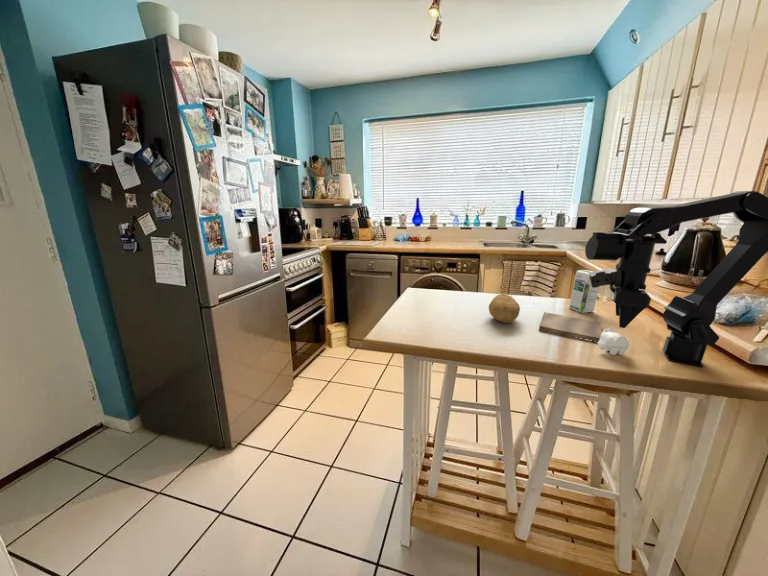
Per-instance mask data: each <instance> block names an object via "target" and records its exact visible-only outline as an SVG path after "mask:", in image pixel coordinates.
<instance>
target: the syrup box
mask: <svg viewBox="0 0 768 576" xmlns="http://www.w3.org/2000/svg"><path fill="white" fill-rule="evenodd" d="M591 272H593V270H589V269H588V270H587V269H579V270H576V272H575V277H574V280H573V287H572V291H571V296H570V302H569V306H568V309H569V308H571V309H570V310H572V309H573V310H572V311H574V310H576V311H575V312H577V311H579V312H581V313H583V314H585V313H584V312H590V311H594V312H595V307H596V302H597V299H598V294H599V290H600V286H599V287H595V288H593V287H592V286H591V281H590V277H589V273H591ZM579 312H578V313H579ZM581 313H580V314H581Z"/></svg>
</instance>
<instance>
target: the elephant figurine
mask: <svg viewBox="0 0 768 576" xmlns="http://www.w3.org/2000/svg"><path fill="white" fill-rule="evenodd" d="M630 341H631V339H629V340H628V338H627V337H626V336H623V335H621V334H619V333H617V332H615V331H614V332H613V331H612V328H605V329H604V330H603V331H602V333H601V338H600V340H599V341H598V343H597V342H596V343H597V344H596V345H598V348H599V349H600V350H601V351H605V350H606V351H605V352H607V351H610V352H609V354H610V355H611V354H612V356H615V355H617V354H618V355H619V356H623V355H624V354H626V352H627V350H628V349H629V347H630Z"/></svg>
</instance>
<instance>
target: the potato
mask: <svg viewBox="0 0 768 576" xmlns="http://www.w3.org/2000/svg"><path fill="white" fill-rule="evenodd" d="M520 309H521V307H520V304H519V302H517V300H516V299H515V298H514V297H512V296H511V295H509V294H506V293H500V294H497V295H495V296H494V297H493V299H492V300H491V301H490V303H488V311H489V314H490V315H491V316H492V317H493V318H494V319H495V320H496V321H498V322H501V323H503V324H509V323H512V322H514V321H515V320H516V319H517V318H519V315H520Z"/></svg>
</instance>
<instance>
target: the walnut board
mask: <svg viewBox="0 0 768 576" xmlns="http://www.w3.org/2000/svg"><path fill="white" fill-rule="evenodd" d="M539 330H540V331H541V332H544V331H545V332H544V333H549V332H550V333H549V334H554V335H558V334H560V335H559V336H563V335H566V336H565V337H568V336H571V337H570V338H573V337H577V338H576V339H578V338H582V339H588V340H592V341H596V342H595V343H597V342H598V341H599V340H600V338H601V333H602V332H603V331H602V324H601V322H600V321H595V320H589V319H585V318H580V317H579V318H578V317H575V316H574V317H572V316H567V315H562V314H557V313H551V312H546V311H545V312H543V315H542V317H541V321H540V323H539V327H538V331H539ZM582 339H581V340H582ZM592 341H591V342H592Z"/></svg>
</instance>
